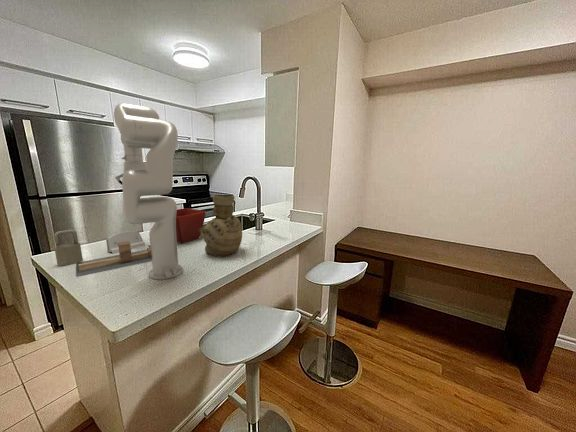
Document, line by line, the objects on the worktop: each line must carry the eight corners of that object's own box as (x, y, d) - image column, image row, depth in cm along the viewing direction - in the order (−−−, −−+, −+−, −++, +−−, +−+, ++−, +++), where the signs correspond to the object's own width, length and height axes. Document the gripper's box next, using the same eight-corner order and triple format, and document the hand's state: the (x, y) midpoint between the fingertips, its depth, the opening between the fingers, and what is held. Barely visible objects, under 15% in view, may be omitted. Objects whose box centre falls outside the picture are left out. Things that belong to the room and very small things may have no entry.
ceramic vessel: (198, 249, 126) (194, 193, 120) (237, 245, 135) (236, 192, 129) (202, 263, 110) (198, 198, 104) (246, 256, 119) (246, 196, 113)
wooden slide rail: (164, 257, 115) (164, 255, 114) (76, 276, 94) (76, 273, 94) (157, 249, 125) (157, 247, 125) (76, 265, 104) (76, 262, 104)
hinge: (112, 254, 118) (106, 234, 118) (108, 255, 120) (102, 236, 120) (146, 245, 132) (141, 227, 132) (142, 246, 134) (136, 229, 134)
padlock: (57, 264, 105) (50, 231, 102) (80, 259, 111) (75, 227, 108) (59, 267, 102) (53, 233, 99) (83, 261, 109) (78, 229, 106)
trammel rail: (161, 254, 115) (160, 248, 114) (79, 271, 96) (78, 263, 95) (156, 249, 122) (156, 243, 121) (79, 264, 102) (77, 257, 101)
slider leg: (132, 260, 107) (130, 243, 106) (121, 262, 105) (119, 244, 103) (128, 254, 114) (126, 238, 112) (118, 256, 111) (116, 240, 110)
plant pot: (179, 246, 131) (177, 216, 128) (159, 240, 141) (156, 212, 137) (207, 238, 147) (206, 211, 144) (187, 233, 157) (186, 207, 153)
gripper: (113, 158, 111) (118, 195, 114) (155, 159, 122) (158, 193, 126) (112, 158, 117) (116, 193, 120) (151, 159, 128) (154, 191, 131)
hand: (137, 193), depth 123 cm, fingers open, 9 cm apart
